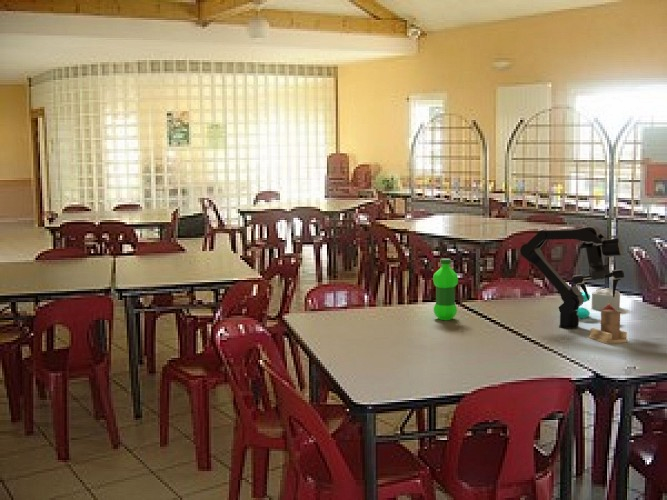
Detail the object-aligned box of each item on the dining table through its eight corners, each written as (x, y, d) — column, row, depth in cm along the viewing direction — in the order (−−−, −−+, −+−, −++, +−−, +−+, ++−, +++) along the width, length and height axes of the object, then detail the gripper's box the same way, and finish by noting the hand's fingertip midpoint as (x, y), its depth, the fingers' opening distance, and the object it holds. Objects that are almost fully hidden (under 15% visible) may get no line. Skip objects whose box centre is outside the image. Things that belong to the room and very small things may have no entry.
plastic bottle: (456, 316, 334) (457, 257, 331) (458, 321, 323) (458, 261, 320) (432, 316, 335) (433, 257, 332) (433, 321, 324) (433, 260, 321)
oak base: (589, 337, 294) (589, 328, 294) (609, 335, 297) (609, 326, 297) (607, 343, 285) (607, 334, 284) (627, 341, 288) (627, 332, 287)
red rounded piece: (616, 325, 315) (617, 305, 314) (601, 324, 316) (602, 304, 315) (614, 321, 320) (615, 302, 319) (599, 321, 322) (600, 302, 321)
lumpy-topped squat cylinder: (588, 309, 346) (589, 289, 345) (602, 304, 356) (603, 285, 355) (611, 312, 339) (611, 292, 338) (624, 308, 348) (625, 288, 347)
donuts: (562, 290, 335) (586, 290, 335) (561, 314, 337) (585, 314, 336) (568, 295, 325) (593, 295, 325) (568, 319, 327) (592, 319, 326)
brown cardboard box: (600, 336, 292) (601, 310, 291) (608, 335, 293) (609, 309, 292) (611, 340, 287) (612, 313, 285) (619, 339, 288) (620, 312, 287)
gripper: (569, 263, 299) (576, 304, 299) (622, 256, 294) (628, 298, 294) (569, 261, 310) (575, 301, 310) (619, 254, 304) (626, 294, 305)
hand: (601, 298), depth 304 cm, fingers open, 9 cm apart
